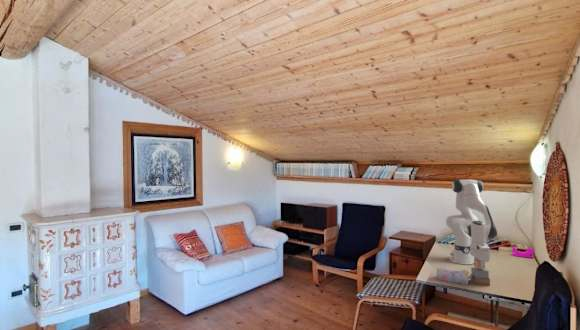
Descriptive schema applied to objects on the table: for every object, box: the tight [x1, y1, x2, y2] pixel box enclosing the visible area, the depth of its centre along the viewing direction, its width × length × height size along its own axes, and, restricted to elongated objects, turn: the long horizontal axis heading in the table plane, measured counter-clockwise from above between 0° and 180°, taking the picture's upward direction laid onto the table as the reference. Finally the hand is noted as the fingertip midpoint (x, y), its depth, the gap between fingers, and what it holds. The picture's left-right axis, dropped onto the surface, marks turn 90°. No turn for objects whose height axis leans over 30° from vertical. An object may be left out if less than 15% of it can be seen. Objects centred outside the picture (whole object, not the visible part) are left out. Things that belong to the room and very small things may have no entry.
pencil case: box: [436, 267, 470, 286], centre depth 234 cm, size 21×9×10 cm, turn 60°
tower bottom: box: [469, 273, 491, 286], centre depth 231 cm, size 9×9×5 cm
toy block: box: [511, 246, 534, 259], centre depth 296 cm, size 15×6×8 cm, turn 59°
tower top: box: [470, 266, 490, 278], centre depth 231 cm, size 8×8×5 cm
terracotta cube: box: [473, 259, 486, 269], centre depth 231 cm, size 5×5×5 cm
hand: (479, 265), depth 231 cm, fingers closed on terracotta cube, 5 cm apart
